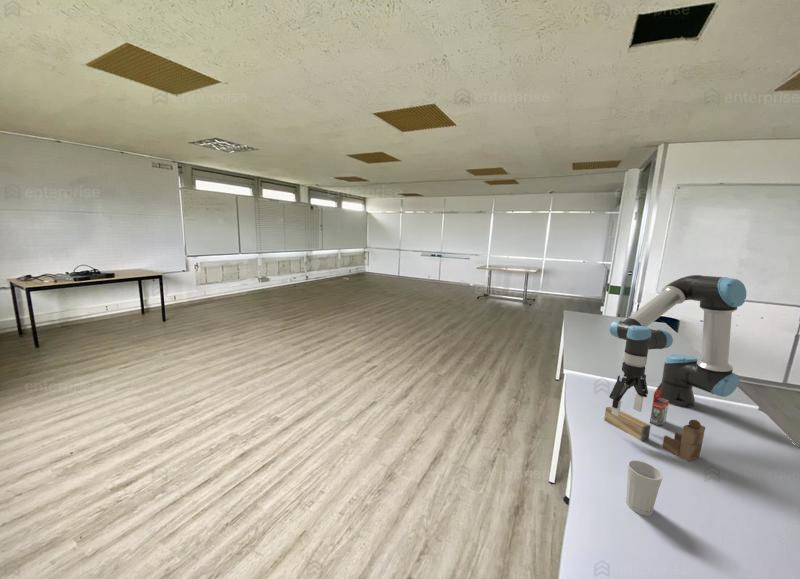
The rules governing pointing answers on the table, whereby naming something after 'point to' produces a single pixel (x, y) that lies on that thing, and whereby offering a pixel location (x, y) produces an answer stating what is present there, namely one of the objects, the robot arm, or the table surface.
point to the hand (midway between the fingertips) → (626, 412)
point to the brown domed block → (686, 441)
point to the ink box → (659, 409)
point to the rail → (628, 424)
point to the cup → (642, 486)
